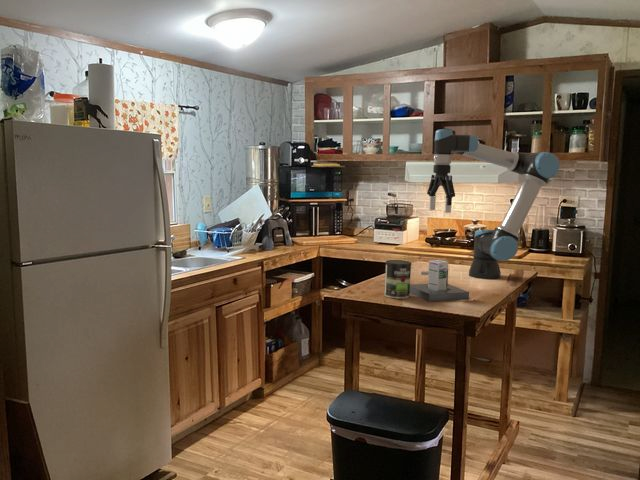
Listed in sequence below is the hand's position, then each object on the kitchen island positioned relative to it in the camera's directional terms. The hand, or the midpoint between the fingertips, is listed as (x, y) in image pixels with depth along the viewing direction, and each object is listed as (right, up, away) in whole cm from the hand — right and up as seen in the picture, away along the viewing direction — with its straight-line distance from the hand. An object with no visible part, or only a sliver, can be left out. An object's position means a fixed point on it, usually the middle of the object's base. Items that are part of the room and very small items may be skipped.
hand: (439, 211), depth 250 cm
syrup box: (-6, -36, -24) cm, 44 cm away
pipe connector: (-4, -33, -2) cm, 34 cm away
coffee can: (-23, -36, -26) cm, 50 cm away
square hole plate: (-6, -36, -24) cm, 43 cm away
